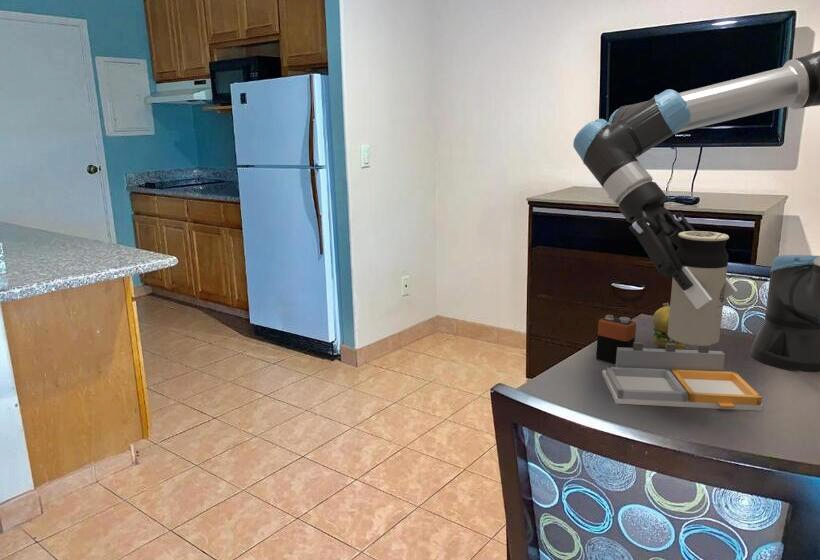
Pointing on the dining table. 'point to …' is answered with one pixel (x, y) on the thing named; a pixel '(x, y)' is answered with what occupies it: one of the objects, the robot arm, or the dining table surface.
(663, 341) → the hamburger
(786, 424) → the dining table surface
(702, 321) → the travel mug
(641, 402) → the grey orange flat box
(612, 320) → the battery
